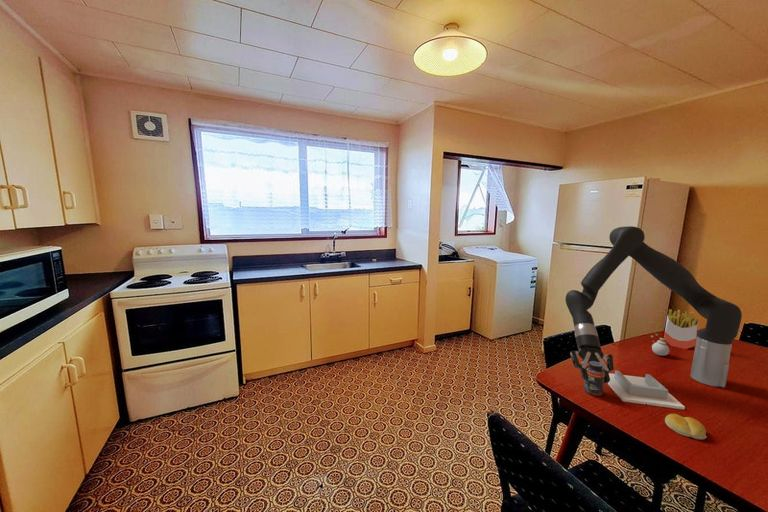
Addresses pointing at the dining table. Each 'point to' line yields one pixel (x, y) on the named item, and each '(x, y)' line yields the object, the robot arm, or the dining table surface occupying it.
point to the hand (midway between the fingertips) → (596, 381)
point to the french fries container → (681, 329)
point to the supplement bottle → (594, 379)
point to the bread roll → (686, 426)
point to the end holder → (642, 390)
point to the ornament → (660, 347)
